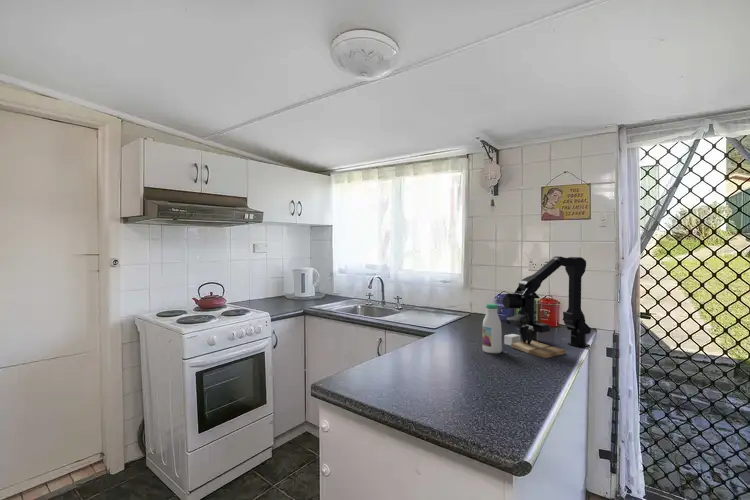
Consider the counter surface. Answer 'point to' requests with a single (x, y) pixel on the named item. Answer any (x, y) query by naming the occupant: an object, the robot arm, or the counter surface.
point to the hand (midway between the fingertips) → (526, 343)
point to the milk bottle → (492, 330)
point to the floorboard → (548, 352)
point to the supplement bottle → (536, 333)
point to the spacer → (511, 339)
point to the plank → (528, 346)
